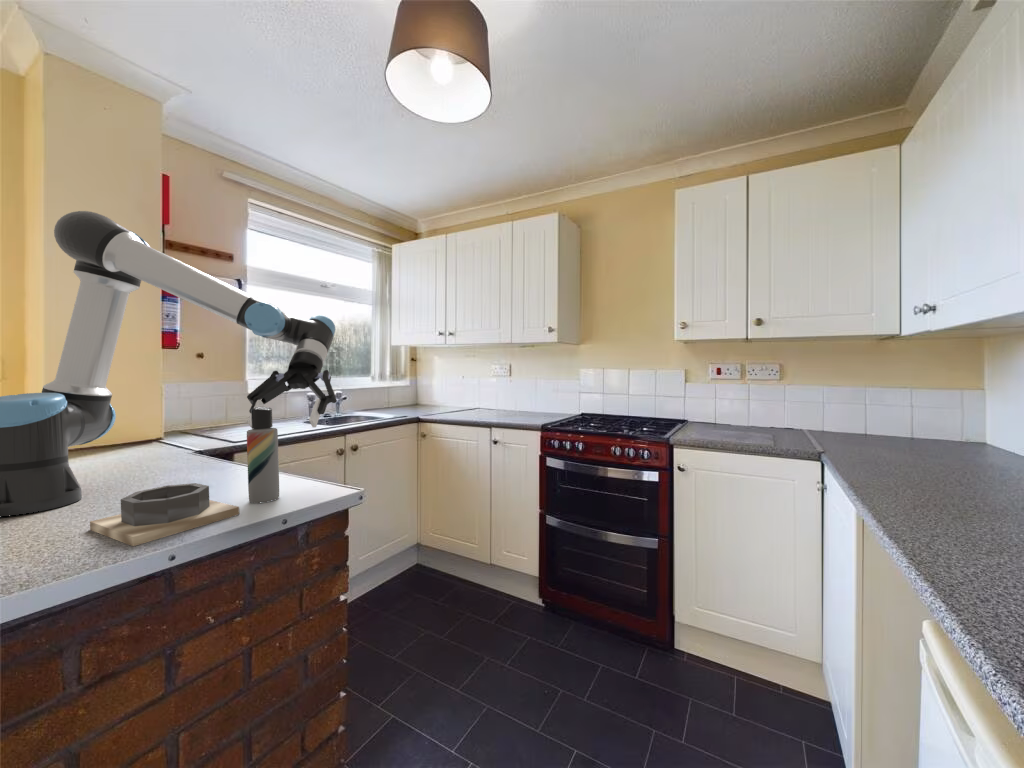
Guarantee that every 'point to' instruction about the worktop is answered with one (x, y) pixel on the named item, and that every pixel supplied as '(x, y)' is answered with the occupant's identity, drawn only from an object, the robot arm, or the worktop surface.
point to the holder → (162, 513)
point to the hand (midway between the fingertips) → (281, 424)
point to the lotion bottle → (262, 457)
